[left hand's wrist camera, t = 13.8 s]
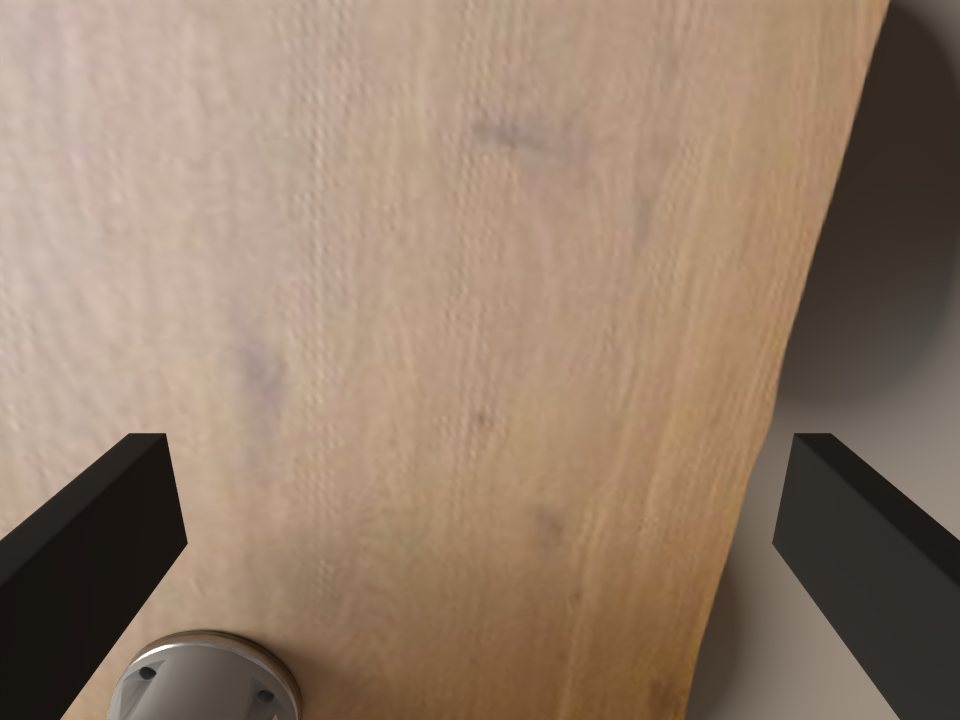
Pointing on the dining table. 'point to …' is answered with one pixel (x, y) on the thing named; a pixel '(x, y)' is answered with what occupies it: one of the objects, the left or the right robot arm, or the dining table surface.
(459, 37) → the dining table surface
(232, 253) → the dining table surface
